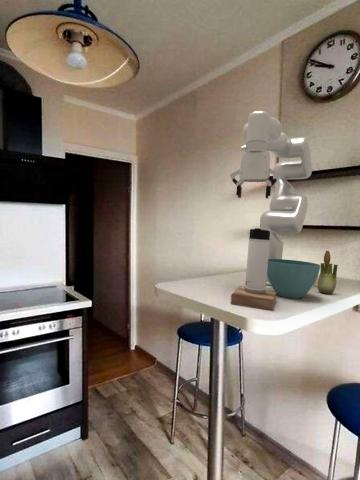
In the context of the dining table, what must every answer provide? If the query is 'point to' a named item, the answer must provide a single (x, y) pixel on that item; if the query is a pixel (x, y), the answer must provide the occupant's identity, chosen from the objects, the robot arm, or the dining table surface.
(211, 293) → the dining table surface
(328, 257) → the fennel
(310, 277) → the teal bowl
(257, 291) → the travel mug
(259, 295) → the walnut board
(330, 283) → the fennel bulb
